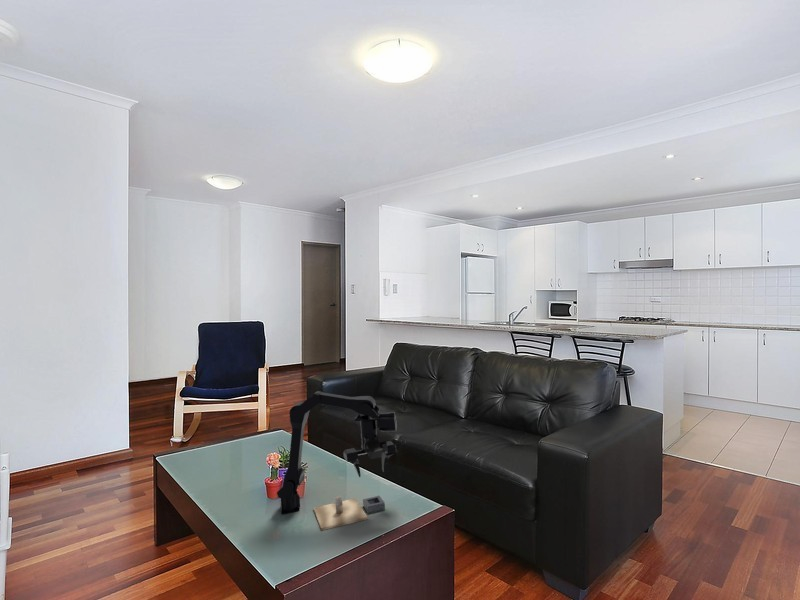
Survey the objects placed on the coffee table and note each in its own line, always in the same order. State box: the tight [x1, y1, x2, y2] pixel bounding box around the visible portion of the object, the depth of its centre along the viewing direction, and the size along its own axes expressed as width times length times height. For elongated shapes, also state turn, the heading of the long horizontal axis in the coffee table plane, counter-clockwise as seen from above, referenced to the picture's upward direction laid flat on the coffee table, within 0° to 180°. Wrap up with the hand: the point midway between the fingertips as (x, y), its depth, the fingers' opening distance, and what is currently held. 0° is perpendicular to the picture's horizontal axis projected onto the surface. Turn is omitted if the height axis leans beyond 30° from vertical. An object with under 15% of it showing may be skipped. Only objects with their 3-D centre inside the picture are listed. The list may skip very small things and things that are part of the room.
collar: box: [362, 495, 386, 514], centre depth 164 cm, size 6×6×2 cm
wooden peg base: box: [312, 495, 368, 531], centre depth 160 cm, size 16×16×6 cm
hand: (371, 474), depth 164 cm, fingers open, 9 cm apart
